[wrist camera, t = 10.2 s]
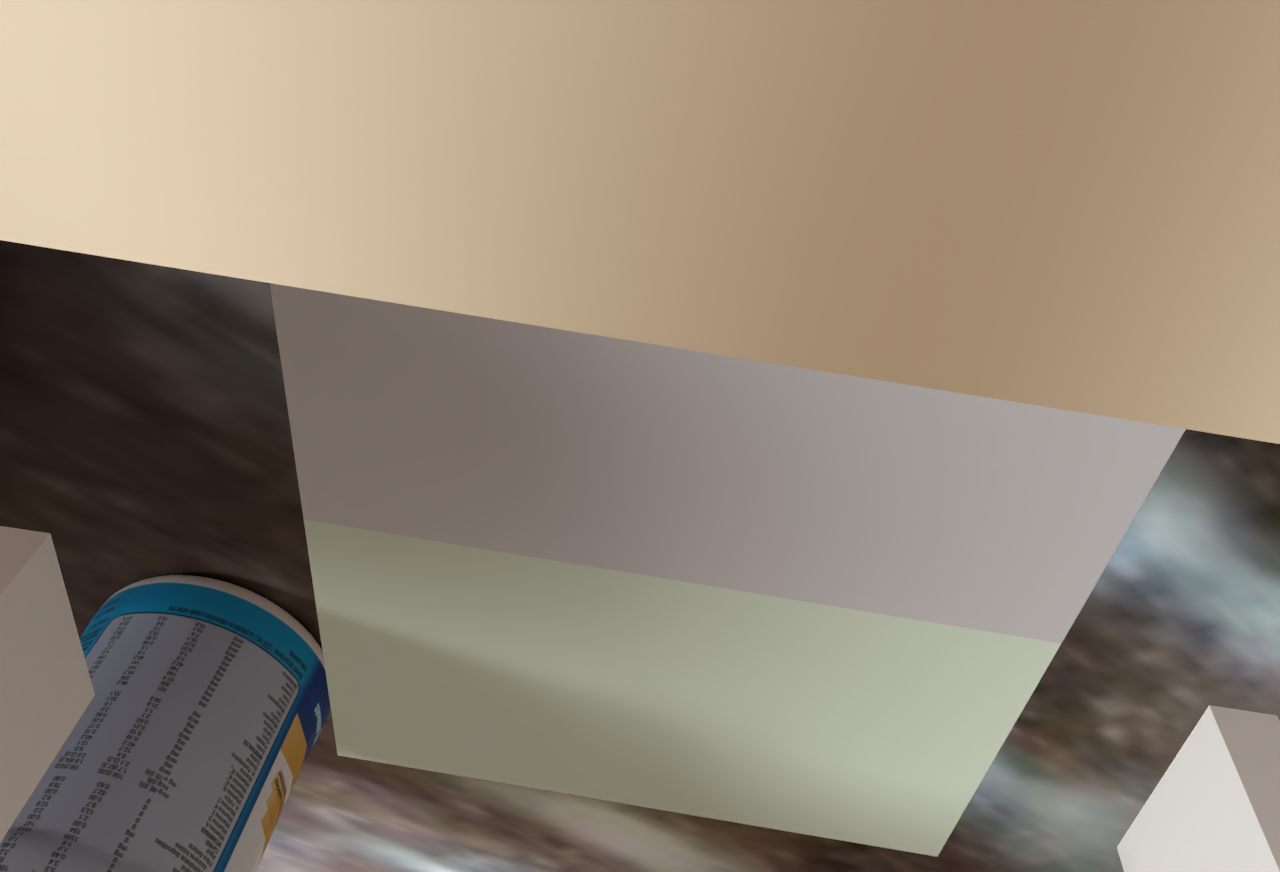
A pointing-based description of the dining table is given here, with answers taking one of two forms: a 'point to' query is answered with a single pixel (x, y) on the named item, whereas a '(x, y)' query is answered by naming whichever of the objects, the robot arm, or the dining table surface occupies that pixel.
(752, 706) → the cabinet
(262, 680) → the beverage bottle
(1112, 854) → the dining table surface
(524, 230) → the wall board
